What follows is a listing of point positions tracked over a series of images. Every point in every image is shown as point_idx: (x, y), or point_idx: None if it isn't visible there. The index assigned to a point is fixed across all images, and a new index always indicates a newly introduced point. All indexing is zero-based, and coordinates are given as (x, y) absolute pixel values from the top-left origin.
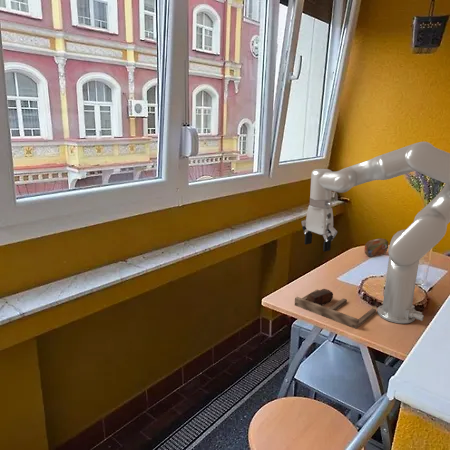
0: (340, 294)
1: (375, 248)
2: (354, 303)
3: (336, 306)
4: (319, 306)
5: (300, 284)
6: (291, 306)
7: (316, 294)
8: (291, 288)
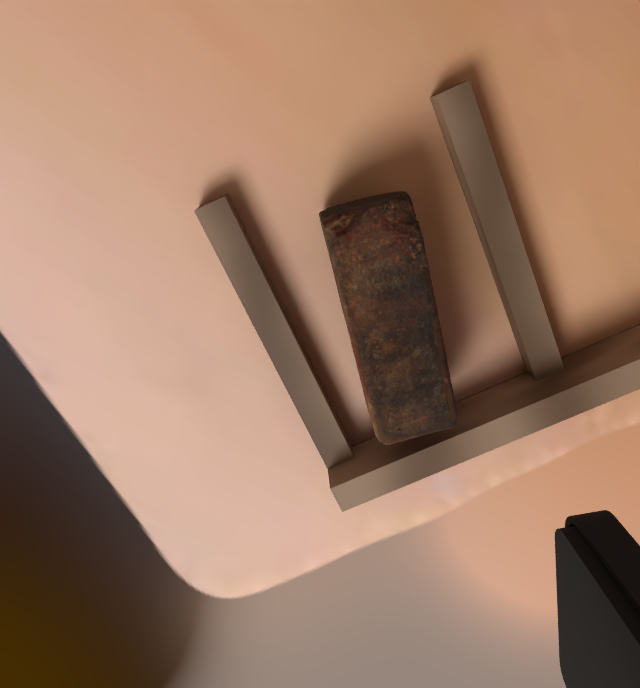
0: (311, 21)
1: None
2: (506, 24)
3: (525, 253)
4: (531, 427)
5: (10, 253)
6: None
7: (415, 386)
8: (72, 366)
